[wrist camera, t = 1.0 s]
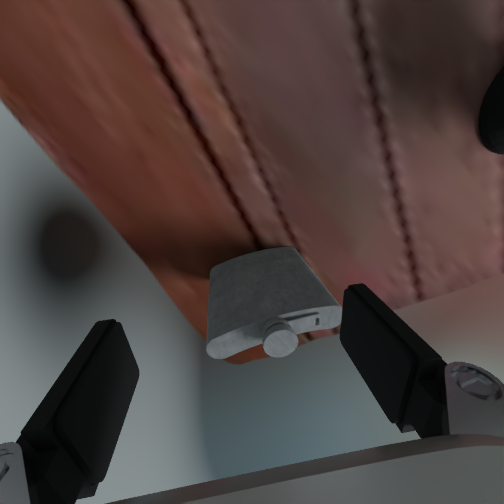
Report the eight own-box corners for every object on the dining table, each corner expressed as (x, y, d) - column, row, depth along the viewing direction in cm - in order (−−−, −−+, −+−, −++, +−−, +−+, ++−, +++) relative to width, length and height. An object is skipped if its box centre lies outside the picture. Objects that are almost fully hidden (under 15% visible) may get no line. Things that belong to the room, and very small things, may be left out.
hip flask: (212, 283, 43) (210, 382, 24) (206, 263, 41) (198, 354, 23) (298, 260, 43) (357, 340, 25) (294, 239, 42) (356, 310, 23)
